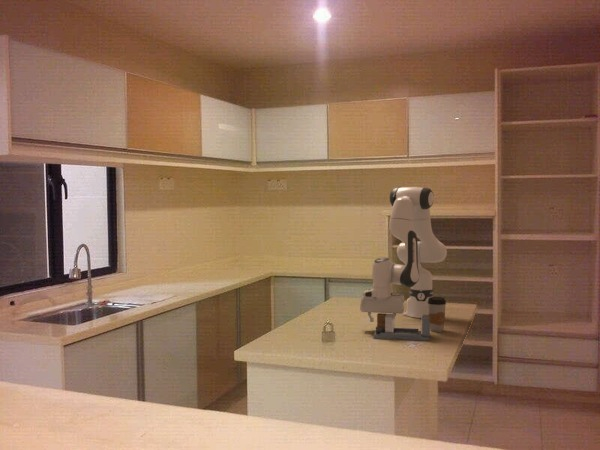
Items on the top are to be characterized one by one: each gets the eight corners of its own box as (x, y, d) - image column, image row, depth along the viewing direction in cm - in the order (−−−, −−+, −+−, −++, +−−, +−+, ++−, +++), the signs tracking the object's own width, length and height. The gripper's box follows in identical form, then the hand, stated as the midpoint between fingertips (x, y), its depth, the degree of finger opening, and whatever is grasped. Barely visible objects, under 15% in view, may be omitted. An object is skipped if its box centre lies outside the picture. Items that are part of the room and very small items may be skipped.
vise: (376, 332, 267) (376, 312, 267) (429, 334, 261) (429, 314, 261) (373, 338, 255) (373, 317, 255) (429, 341, 250) (429, 319, 249)
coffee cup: (433, 332, 265) (433, 300, 264) (424, 329, 273) (424, 297, 272) (449, 331, 267) (449, 299, 266) (440, 327, 275) (440, 296, 274)
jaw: (377, 329, 265) (377, 313, 265) (394, 330, 263) (394, 313, 263) (375, 333, 257) (374, 316, 256) (393, 334, 255) (393, 317, 255)
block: (378, 328, 274) (378, 313, 274) (386, 329, 273) (386, 313, 273) (377, 330, 270) (377, 314, 270) (385, 331, 269) (385, 315, 269)
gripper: (404, 292, 272) (404, 321, 272) (361, 291, 276) (361, 319, 277) (404, 294, 265) (404, 324, 266) (359, 293, 270) (359, 322, 271)
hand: (382, 322), depth 272 cm, fingers open, 8 cm apart
